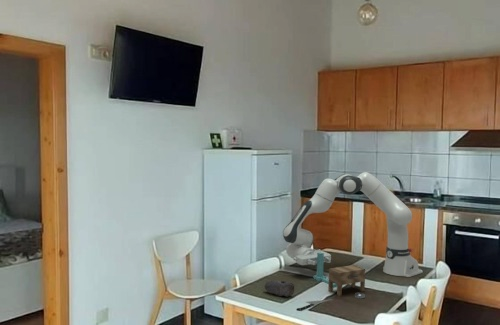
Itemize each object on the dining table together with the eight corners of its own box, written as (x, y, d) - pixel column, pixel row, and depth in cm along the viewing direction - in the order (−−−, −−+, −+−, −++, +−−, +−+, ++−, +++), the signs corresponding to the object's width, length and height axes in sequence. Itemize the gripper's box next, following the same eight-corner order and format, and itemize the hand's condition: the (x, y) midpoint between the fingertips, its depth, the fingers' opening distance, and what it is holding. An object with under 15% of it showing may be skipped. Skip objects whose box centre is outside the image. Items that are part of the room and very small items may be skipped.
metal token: (362, 295, 219) (362, 292, 219) (366, 298, 214) (366, 295, 214) (353, 296, 218) (353, 292, 218) (357, 299, 213) (357, 296, 213)
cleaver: (283, 306, 203) (300, 312, 196) (283, 305, 203) (300, 311, 196) (324, 292, 223) (341, 297, 216) (324, 291, 223) (341, 296, 216)
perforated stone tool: (261, 293, 219) (262, 278, 218) (267, 290, 223) (267, 276, 223) (289, 299, 211) (290, 284, 210) (295, 296, 215) (295, 282, 215)
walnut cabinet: (353, 286, 232) (354, 264, 231) (365, 291, 224) (366, 269, 223) (328, 290, 224) (329, 268, 223) (340, 296, 216) (340, 273, 216)
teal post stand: (311, 278, 243) (312, 252, 242) (322, 277, 246) (323, 251, 245) (331, 287, 229) (332, 260, 228) (342, 285, 232) (343, 258, 231)
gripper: (291, 252, 247) (306, 258, 235) (321, 248, 257) (337, 254, 245) (291, 263, 247) (306, 270, 235) (321, 259, 257) (337, 266, 245)
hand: (322, 262), depth 240 cm, fingers open, 8 cm apart
